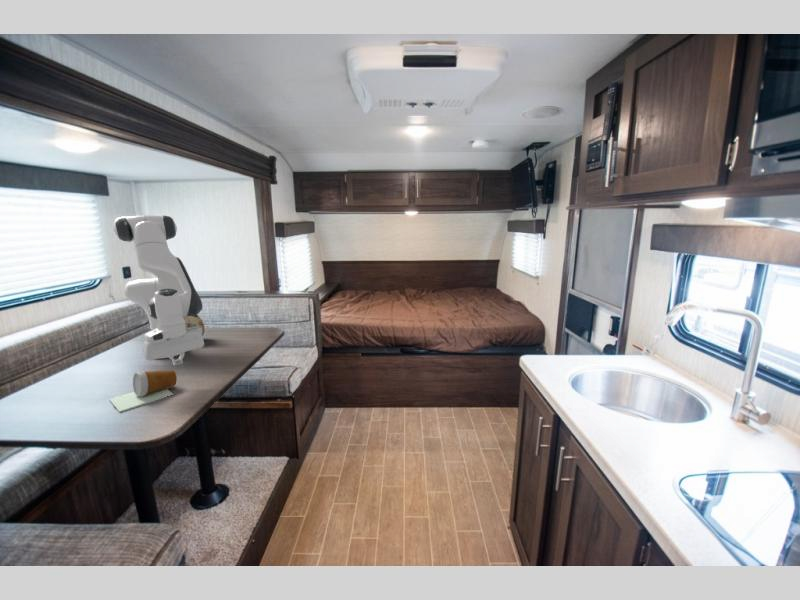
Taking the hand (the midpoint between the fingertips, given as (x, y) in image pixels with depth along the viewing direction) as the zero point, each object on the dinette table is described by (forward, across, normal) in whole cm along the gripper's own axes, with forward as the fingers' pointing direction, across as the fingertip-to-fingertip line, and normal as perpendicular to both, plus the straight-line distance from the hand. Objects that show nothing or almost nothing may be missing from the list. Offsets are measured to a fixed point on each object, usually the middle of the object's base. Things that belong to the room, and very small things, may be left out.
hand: (177, 363), depth 133 cm
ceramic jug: (+9, -24, -55) cm, 61 cm away
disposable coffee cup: (+6, +2, -1) cm, 6 cm away
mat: (+9, +13, 0) cm, 16 cm away
